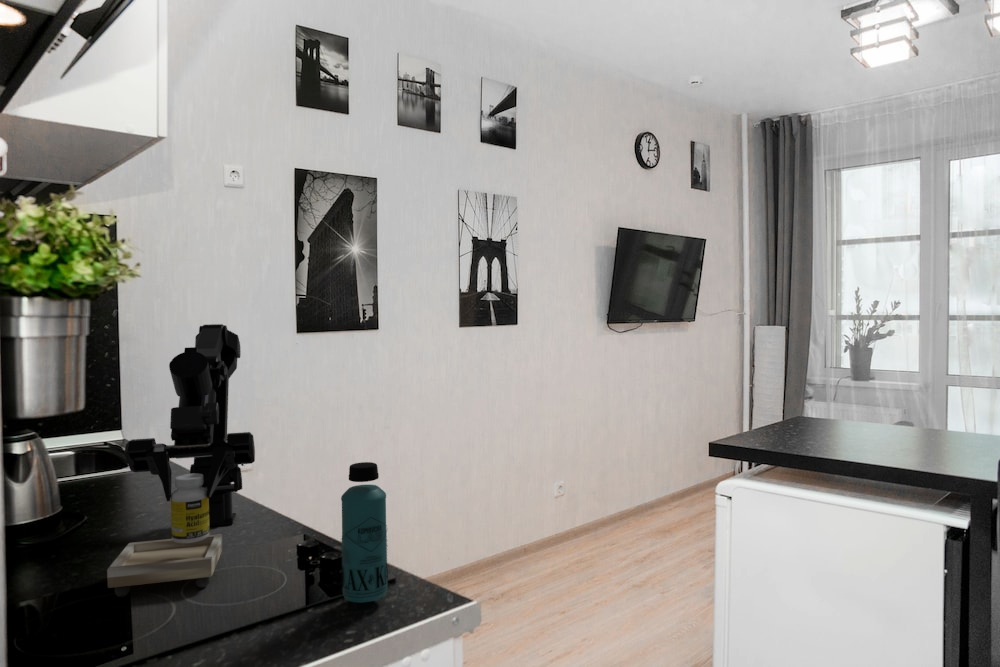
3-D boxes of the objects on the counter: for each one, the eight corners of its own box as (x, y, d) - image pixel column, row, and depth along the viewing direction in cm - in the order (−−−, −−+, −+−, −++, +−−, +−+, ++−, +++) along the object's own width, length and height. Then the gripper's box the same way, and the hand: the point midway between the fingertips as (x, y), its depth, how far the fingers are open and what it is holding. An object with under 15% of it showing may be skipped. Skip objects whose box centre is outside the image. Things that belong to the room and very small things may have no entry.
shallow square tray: (130, 571, 111) (129, 542, 110) (222, 561, 114) (221, 534, 114) (108, 601, 99) (107, 569, 99) (212, 589, 103) (210, 558, 102)
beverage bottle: (333, 604, 97) (329, 464, 96) (372, 590, 101) (369, 456, 101) (358, 618, 92) (355, 471, 91) (399, 603, 97) (395, 463, 96)
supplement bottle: (186, 546, 103) (183, 482, 102) (164, 540, 106) (161, 478, 105) (217, 535, 108) (215, 474, 107) (195, 530, 110) (193, 470, 110)
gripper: (124, 389, 107) (108, 475, 97) (251, 383, 112) (248, 465, 102) (138, 430, 115) (124, 514, 105) (255, 422, 120) (253, 502, 110)
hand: (188, 498), depth 105 cm, fingers closed on supplement bottle, 5 cm apart
